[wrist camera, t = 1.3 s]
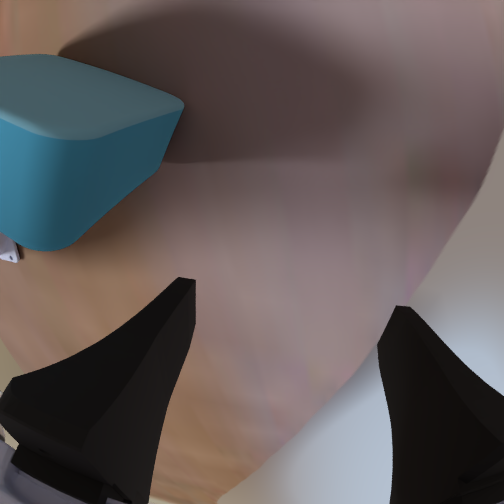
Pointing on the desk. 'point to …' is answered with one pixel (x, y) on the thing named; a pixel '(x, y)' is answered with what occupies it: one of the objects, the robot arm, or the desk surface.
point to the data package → (73, 145)
